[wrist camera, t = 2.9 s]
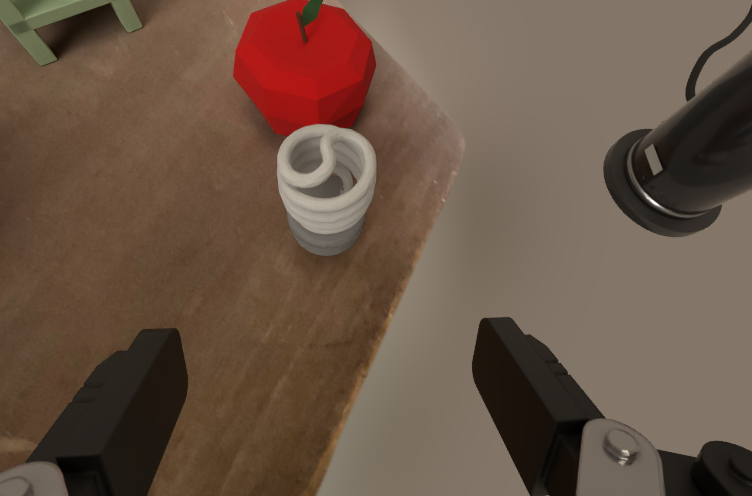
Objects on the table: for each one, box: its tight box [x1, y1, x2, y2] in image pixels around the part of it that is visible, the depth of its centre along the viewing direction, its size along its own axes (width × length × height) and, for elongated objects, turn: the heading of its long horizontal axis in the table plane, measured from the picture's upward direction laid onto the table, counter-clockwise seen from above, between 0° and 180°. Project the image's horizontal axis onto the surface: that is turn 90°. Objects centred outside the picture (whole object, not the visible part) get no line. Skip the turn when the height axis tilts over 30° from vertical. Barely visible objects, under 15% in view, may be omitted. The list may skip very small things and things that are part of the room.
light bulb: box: [277, 124, 377, 256], centre depth 25 cm, size 6×6×12 cm
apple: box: [233, 0, 376, 136], centre depth 31 cm, size 11×11×10 cm
